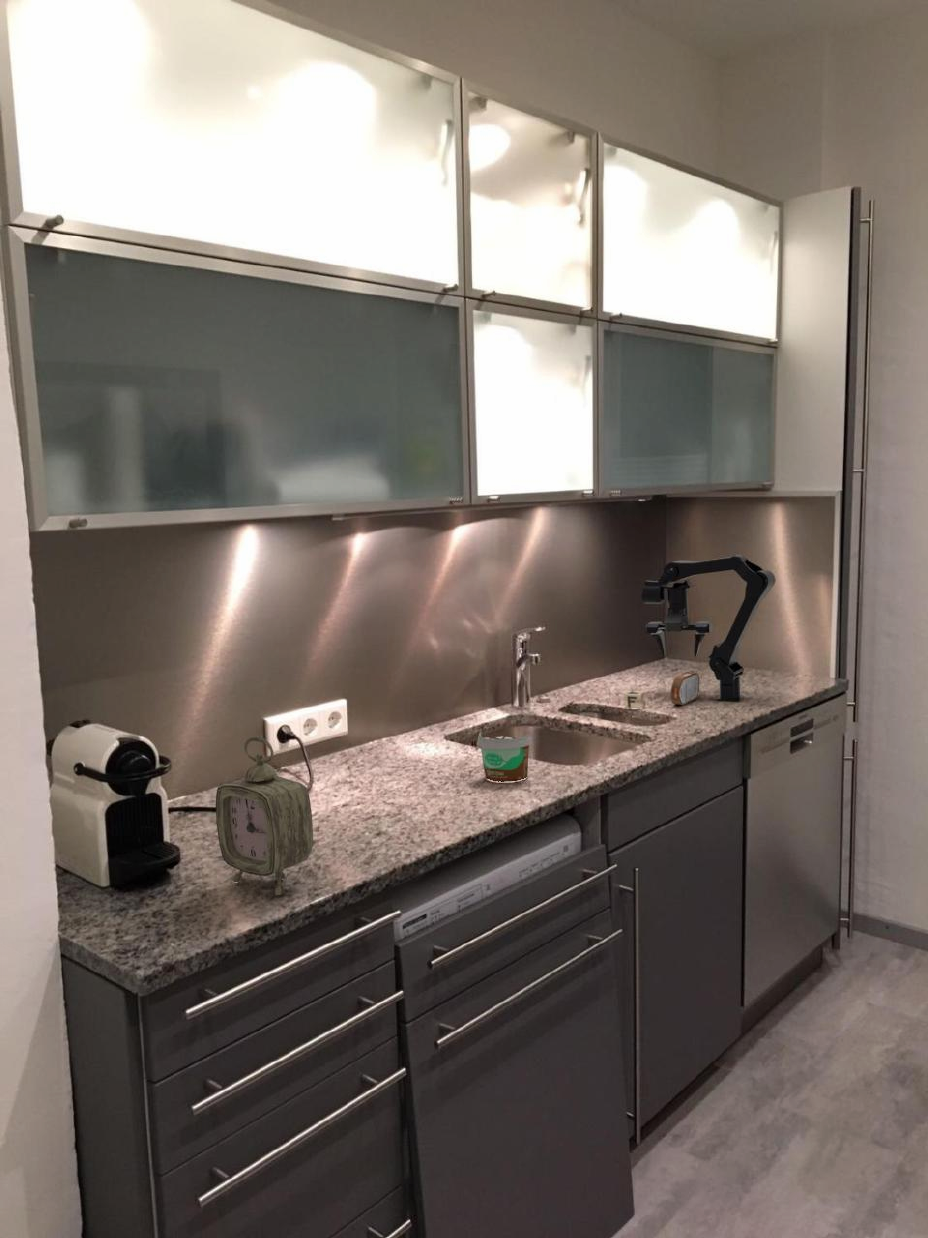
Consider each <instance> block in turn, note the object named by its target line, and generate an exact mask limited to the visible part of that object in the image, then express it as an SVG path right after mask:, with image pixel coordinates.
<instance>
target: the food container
mask: <svg viewBox="0 0 928 1238" xmlns="http://www.w3.org/2000/svg"><path fill="white" fill-rule="evenodd" d="M476 744H477V746H478V747H480V750H481V751H480V752H481V757H482V765H483V769H484V771H483V772H484V777H485V779H486V778H487V779H490V780H493V781H498V782H499V781H501V782H504V781H517V780H521V779H524V778H526V777H527V778H528V774H529V771H528V769H529V753H530V751H529V750H530V748H529V747H530V745H532V744H533V741H532V737H531V736H530V734H529V733H528V734H526V735H523V736H521V737H515V736H509V735H496V736H482V732H480V733H479V734H478V737H477V743H476Z"/></svg>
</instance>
